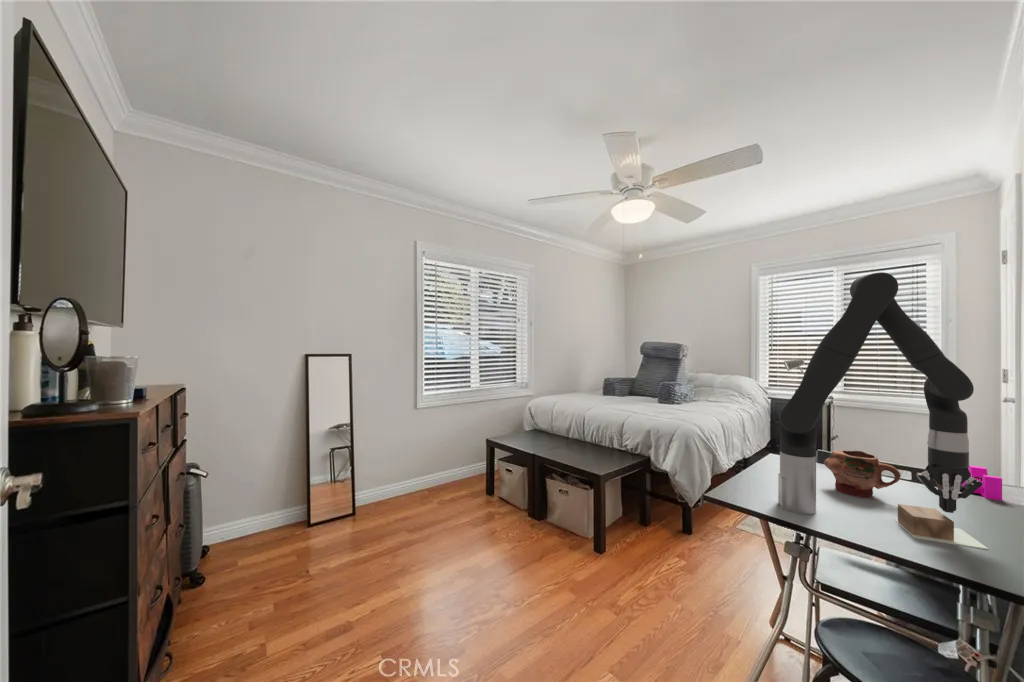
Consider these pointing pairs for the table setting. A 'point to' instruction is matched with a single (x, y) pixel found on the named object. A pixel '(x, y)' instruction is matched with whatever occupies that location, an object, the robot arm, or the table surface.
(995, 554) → the table surface
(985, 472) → the toy block
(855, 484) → the decorative planter
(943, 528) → the walnut block
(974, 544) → the mat
